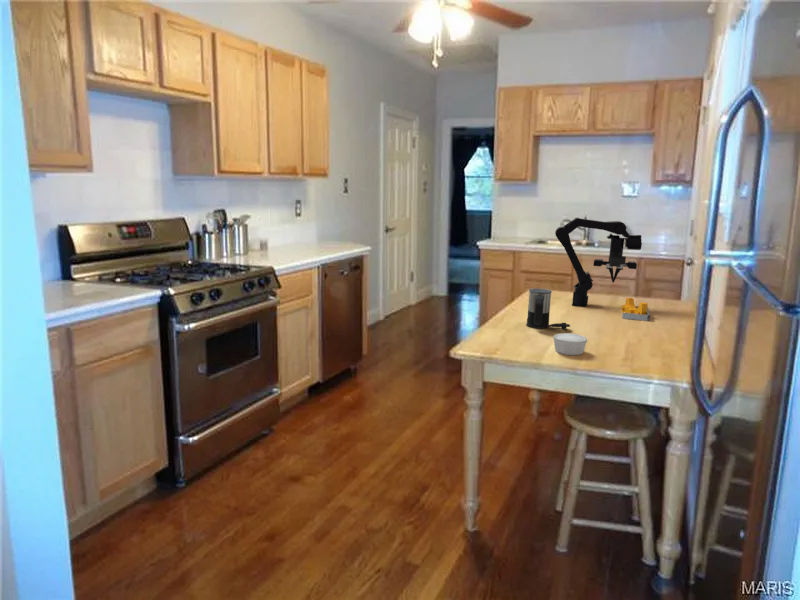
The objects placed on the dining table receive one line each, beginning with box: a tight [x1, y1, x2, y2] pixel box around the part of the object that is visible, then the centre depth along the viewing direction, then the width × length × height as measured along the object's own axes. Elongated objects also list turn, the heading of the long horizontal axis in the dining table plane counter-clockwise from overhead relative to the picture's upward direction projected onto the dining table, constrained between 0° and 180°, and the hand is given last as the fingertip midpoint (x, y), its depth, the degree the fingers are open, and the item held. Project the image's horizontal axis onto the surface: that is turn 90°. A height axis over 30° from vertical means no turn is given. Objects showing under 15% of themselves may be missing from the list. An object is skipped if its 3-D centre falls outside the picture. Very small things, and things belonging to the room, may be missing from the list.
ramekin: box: [552, 333, 588, 356], centre depth 206 cm, size 11×11×5 cm
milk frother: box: [526, 287, 571, 330], centre depth 237 cm, size 14×16×15 cm
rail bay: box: [621, 305, 651, 322], centre depth 263 cm, size 11×18×2 cm, turn 160°
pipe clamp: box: [621, 297, 649, 315], centre depth 264 cm, size 12×4×6 cm, turn 13°
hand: (613, 282), depth 276 cm, fingers closed
